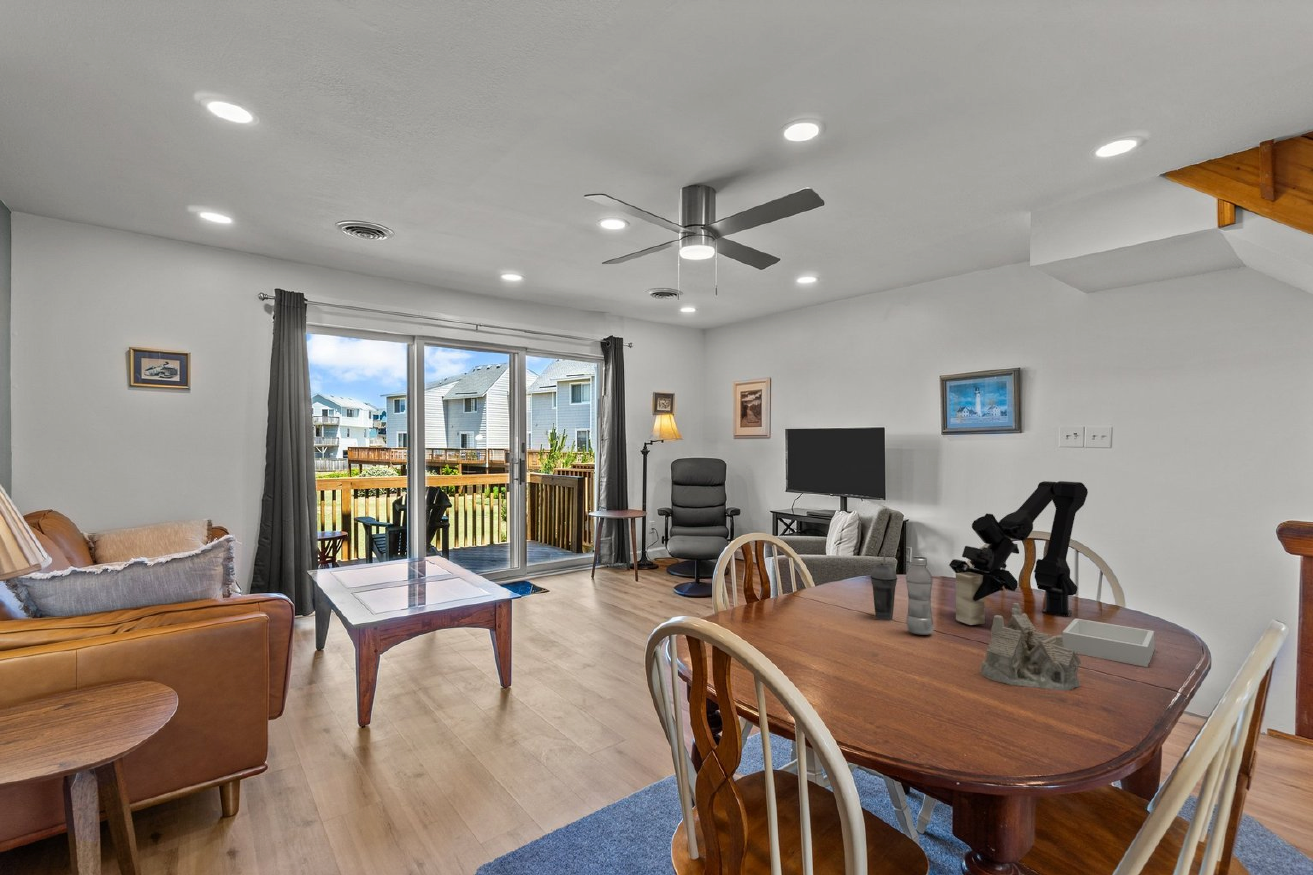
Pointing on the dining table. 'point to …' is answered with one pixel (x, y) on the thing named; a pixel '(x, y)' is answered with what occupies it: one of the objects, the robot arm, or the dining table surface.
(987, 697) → the dining table surface
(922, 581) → the plastic bottle
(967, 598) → the birch block
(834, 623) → the dining table surface
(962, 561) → the robot arm
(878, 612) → the beverage cup
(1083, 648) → the box
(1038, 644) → the ceramic cottage
